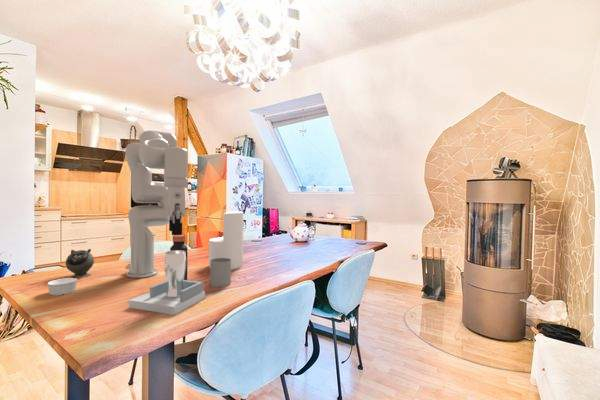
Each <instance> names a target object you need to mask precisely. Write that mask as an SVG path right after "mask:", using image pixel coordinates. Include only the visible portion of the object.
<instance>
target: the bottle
mask: <svg viewBox="0 0 600 400" xmlns="http://www.w3.org/2000/svg"><path fill="white" fill-rule="evenodd" d="M185 242H186V235H184V234H182V235H172V243H173V244H172V245H171V246H170V248H169V251H173V250H183V251H186V271H185V277H184V280H188V246H187V245H186V244H185Z"/></svg>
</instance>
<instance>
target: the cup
mask: <svg viewBox="0 0 600 400" xmlns="http://www.w3.org/2000/svg"><path fill="white" fill-rule="evenodd" d="M209 269H210V270H209V271H210V275H209V276H210V282H209V283H210V286H211V287H214V286H215V288H219V287H227V286H229V285H231V284H232V283H231V281H232V280H231V279H232V269H231V259H229V258H216V259H212V260H211V261H210V267H209Z"/></svg>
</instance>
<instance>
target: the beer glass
mask: <svg viewBox="0 0 600 400" xmlns="http://www.w3.org/2000/svg"><path fill="white" fill-rule="evenodd" d="M164 253H165V255H164V272H165V273H164V274H165V278H166V281H167V291H166V296H167V297H170V298H175V297H180V291H181V290H183V289H184V277H185V271H186V251H183V250H173V251H170V250H169V251H168V250H166V252H164Z"/></svg>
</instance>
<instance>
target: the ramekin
mask: <svg viewBox="0 0 600 400" xmlns="http://www.w3.org/2000/svg"><path fill="white" fill-rule="evenodd" d="M77 281H78V278H73V277H65V278H58V279H54V280H50V281H48V282H47V283H46V284H47V286H48V294H49V295H50V296H63V295H62V294H64V295H69V294H71V292H72V293H75V291H76V290H77ZM68 293H69V294H68Z"/></svg>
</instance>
